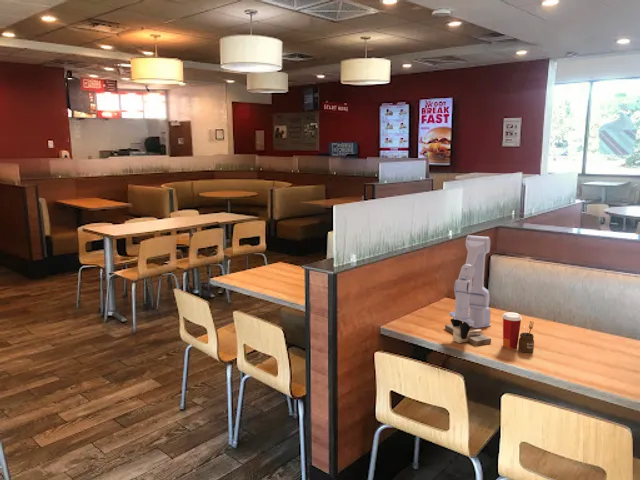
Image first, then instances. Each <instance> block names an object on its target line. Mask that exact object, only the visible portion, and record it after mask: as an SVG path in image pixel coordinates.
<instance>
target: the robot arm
mask: <svg viewBox="0 0 640 480" xmlns="http://www.w3.org/2000/svg"><path fill="white" fill-rule="evenodd" d="M465 247H466V251H467V254H466V260H465V264H463V265H462V266H461V268H460V271H459V275H458V279H455V281H454V285H453V291H454V297H455V304H454V305H455V306H454V311H449V317H452V318H451V319H450V324H452V325H453V328H454V327H455V326H460V329H461V338H462V339H466V338H467V335H468V332H469V330H470V328H471V329H473V328H474V329H480V328H485V327H486V328H487V327H491V326H492V324H491V317H492V316H491V313H492V312H491V309H490V307H489V306H490V302H491V301H490V299H491V298H490V297H491V296H490V291H489V290H488V289H487V288H486V287H485V285H484V284H485V281H484V280H485V267H486V266H485V265H486V255H487V254H488V253H489V254H490V251H491V238H490V236H480V235H471V234H468V235H467V236H466V238H465Z"/></svg>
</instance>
